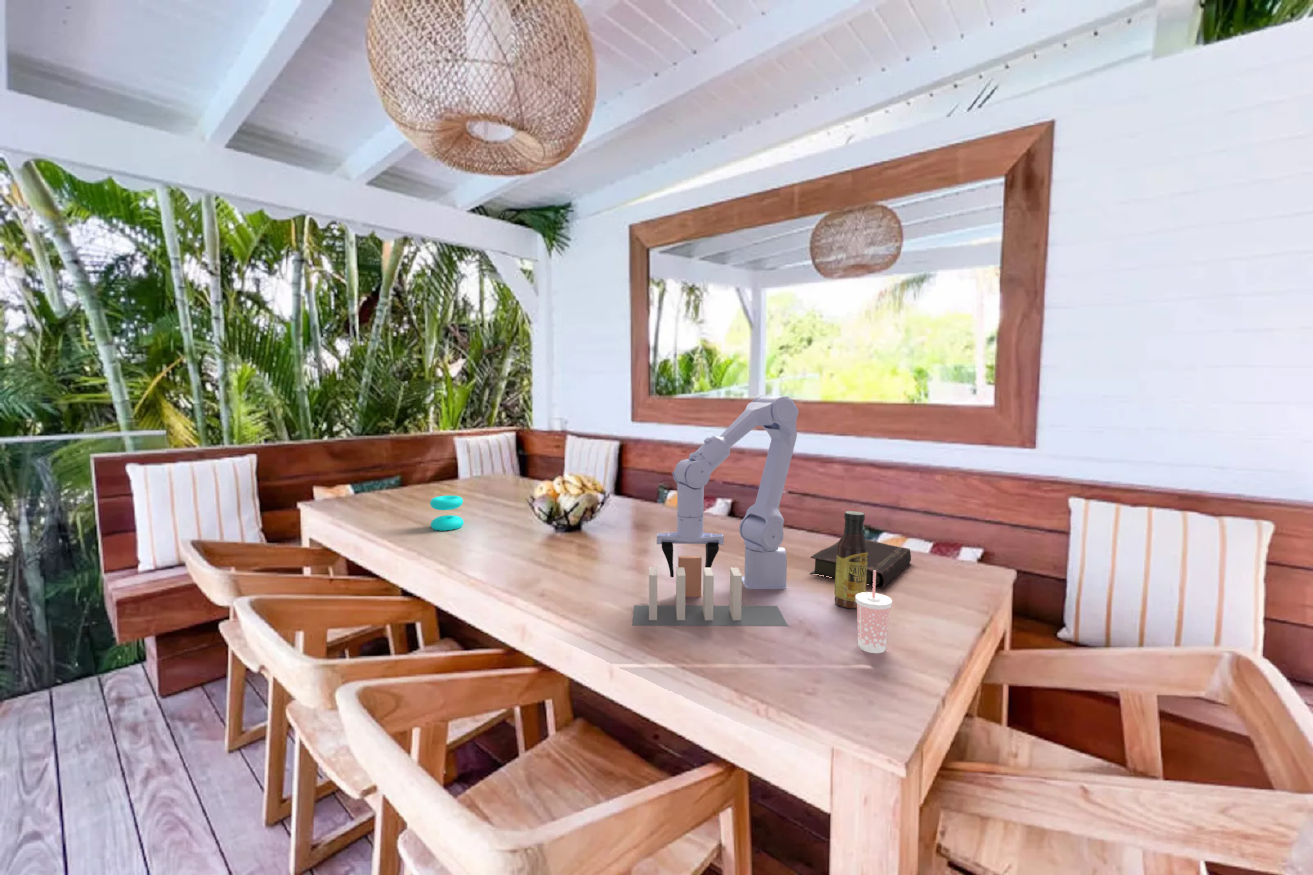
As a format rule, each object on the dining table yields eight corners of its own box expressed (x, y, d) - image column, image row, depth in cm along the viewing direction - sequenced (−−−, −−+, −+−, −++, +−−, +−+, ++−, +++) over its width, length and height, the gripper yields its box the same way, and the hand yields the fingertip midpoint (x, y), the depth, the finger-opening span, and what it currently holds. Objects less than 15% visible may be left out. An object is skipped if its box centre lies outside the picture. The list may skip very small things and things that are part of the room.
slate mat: (777, 607, 119) (777, 605, 119) (788, 627, 109) (788, 625, 109) (634, 607, 119) (634, 605, 119) (632, 627, 109) (632, 625, 109)
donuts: (445, 493, 190) (469, 495, 186) (445, 523, 191) (470, 525, 187) (422, 499, 181) (448, 501, 177) (424, 530, 181) (449, 533, 178)
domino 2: (683, 610, 116) (684, 567, 116) (685, 620, 111) (685, 575, 111) (675, 610, 116) (676, 567, 116) (676, 620, 111) (677, 575, 111)
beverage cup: (897, 652, 99) (901, 574, 98) (867, 657, 97) (871, 577, 96) (874, 637, 105) (878, 563, 104) (846, 641, 103) (849, 566, 102)
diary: (911, 566, 149) (912, 547, 149) (884, 593, 130) (885, 572, 129) (841, 552, 161) (842, 535, 160) (806, 575, 141) (807, 555, 140)
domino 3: (710, 610, 116) (711, 567, 116) (713, 620, 111) (713, 575, 111) (702, 610, 116) (703, 567, 116) (704, 620, 111) (705, 575, 111)
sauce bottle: (849, 612, 117) (853, 517, 115) (827, 602, 122) (830, 511, 120) (872, 606, 120) (876, 514, 118) (849, 597, 125) (853, 508, 123)
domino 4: (737, 610, 116) (738, 567, 116) (741, 620, 111) (741, 575, 111) (729, 610, 116) (730, 567, 116) (732, 620, 111) (733, 575, 111)
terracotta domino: (677, 595, 126) (678, 555, 125) (700, 595, 126) (701, 555, 125) (678, 598, 124) (678, 558, 123) (701, 598, 124) (701, 558, 123)
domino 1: (656, 610, 116) (657, 567, 116) (657, 620, 111) (657, 575, 111) (649, 610, 116) (649, 567, 116) (648, 620, 111) (649, 575, 111)
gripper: (721, 511, 127) (720, 570, 128) (656, 510, 127) (656, 569, 128) (725, 518, 120) (724, 580, 121) (656, 517, 120) (656, 580, 121)
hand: (689, 575), depth 124 cm, fingers open, 7 cm apart
